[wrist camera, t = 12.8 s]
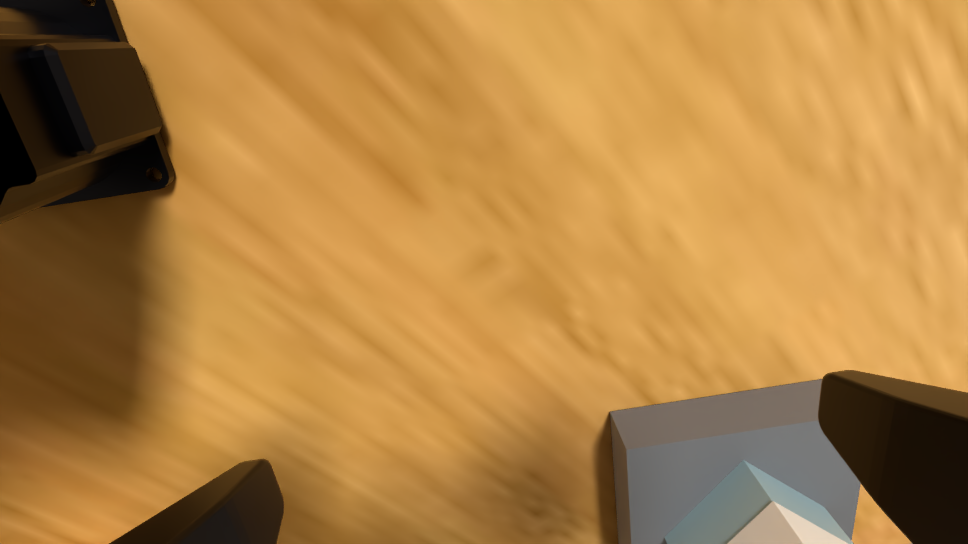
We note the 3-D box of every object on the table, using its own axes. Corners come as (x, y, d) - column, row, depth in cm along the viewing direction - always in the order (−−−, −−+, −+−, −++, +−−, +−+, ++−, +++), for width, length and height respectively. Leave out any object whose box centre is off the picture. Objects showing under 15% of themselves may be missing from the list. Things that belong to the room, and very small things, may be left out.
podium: (620, 570, 29) (635, 616, 27) (610, 411, 25) (626, 449, 23) (812, 540, 29) (844, 584, 27) (832, 377, 25) (871, 412, 23)
